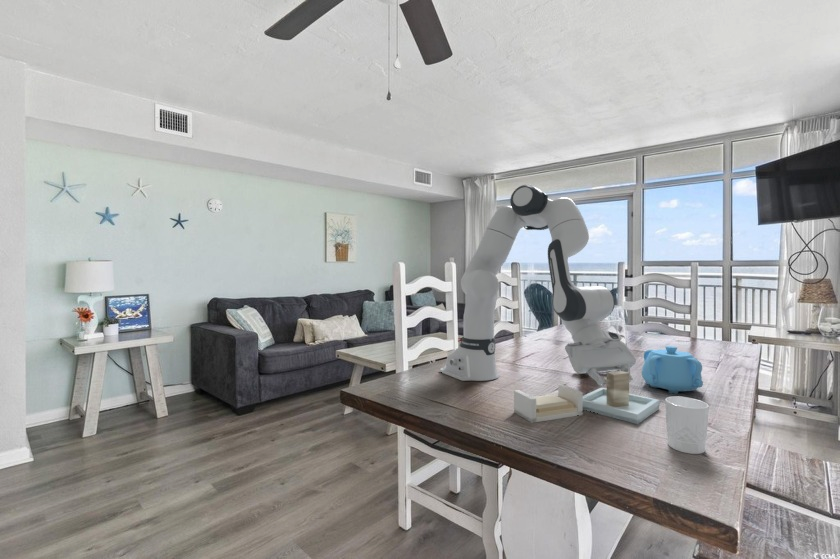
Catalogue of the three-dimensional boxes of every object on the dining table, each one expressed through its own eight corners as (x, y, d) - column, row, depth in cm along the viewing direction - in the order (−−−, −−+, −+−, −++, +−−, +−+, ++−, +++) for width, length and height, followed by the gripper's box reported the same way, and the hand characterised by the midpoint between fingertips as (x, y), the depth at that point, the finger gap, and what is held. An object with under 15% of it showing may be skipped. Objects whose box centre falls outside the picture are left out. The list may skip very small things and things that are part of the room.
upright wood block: (606, 404, 112) (606, 372, 112) (621, 402, 114) (621, 370, 113) (613, 407, 109) (613, 374, 109) (628, 405, 111) (629, 373, 111)
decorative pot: (699, 385, 133) (699, 344, 133) (704, 399, 119) (704, 353, 119) (642, 379, 141) (643, 340, 141) (641, 391, 127) (642, 348, 127)
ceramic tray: (576, 407, 112) (576, 399, 112) (601, 395, 123) (601, 387, 123) (637, 424, 100) (637, 414, 100) (659, 408, 111) (659, 399, 111)
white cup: (663, 449, 86) (664, 403, 86) (665, 436, 93) (666, 394, 93) (708, 459, 82) (709, 411, 82) (707, 445, 89) (708, 400, 88)
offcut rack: (514, 412, 109) (514, 390, 109) (562, 405, 114) (562, 384, 114) (531, 422, 102) (531, 399, 101) (582, 414, 107) (582, 392, 107)
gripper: (567, 337, 115) (592, 380, 106) (623, 333, 121) (651, 373, 113) (557, 350, 119) (580, 392, 110) (611, 345, 126) (637, 385, 117)
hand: (616, 382), depth 111 cm, fingers open, 8 cm apart
